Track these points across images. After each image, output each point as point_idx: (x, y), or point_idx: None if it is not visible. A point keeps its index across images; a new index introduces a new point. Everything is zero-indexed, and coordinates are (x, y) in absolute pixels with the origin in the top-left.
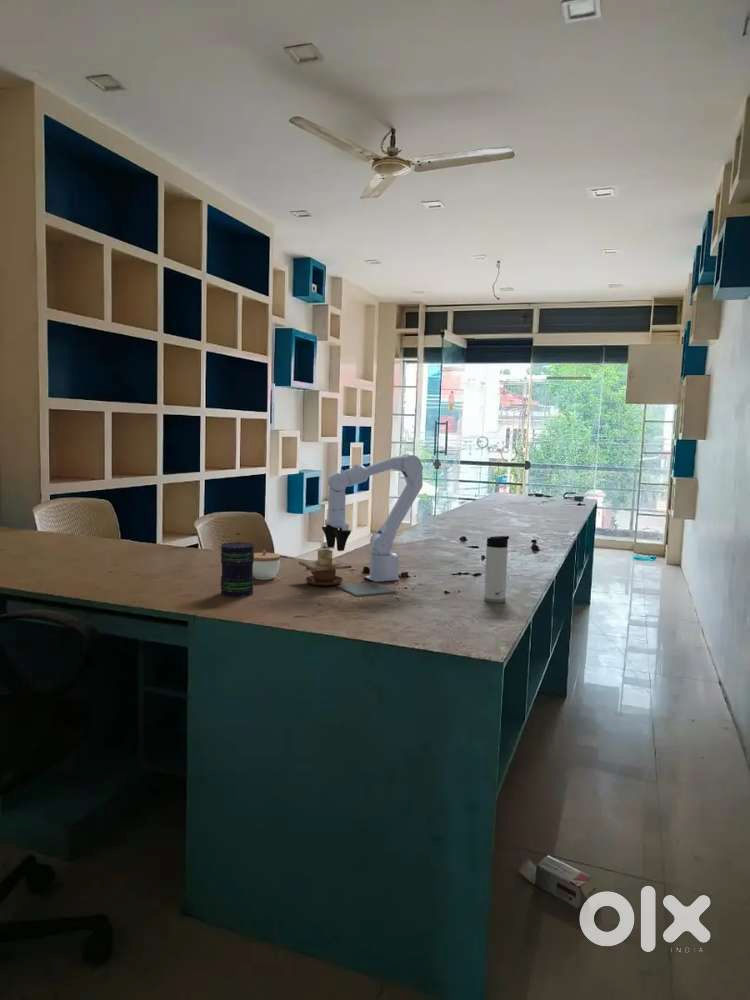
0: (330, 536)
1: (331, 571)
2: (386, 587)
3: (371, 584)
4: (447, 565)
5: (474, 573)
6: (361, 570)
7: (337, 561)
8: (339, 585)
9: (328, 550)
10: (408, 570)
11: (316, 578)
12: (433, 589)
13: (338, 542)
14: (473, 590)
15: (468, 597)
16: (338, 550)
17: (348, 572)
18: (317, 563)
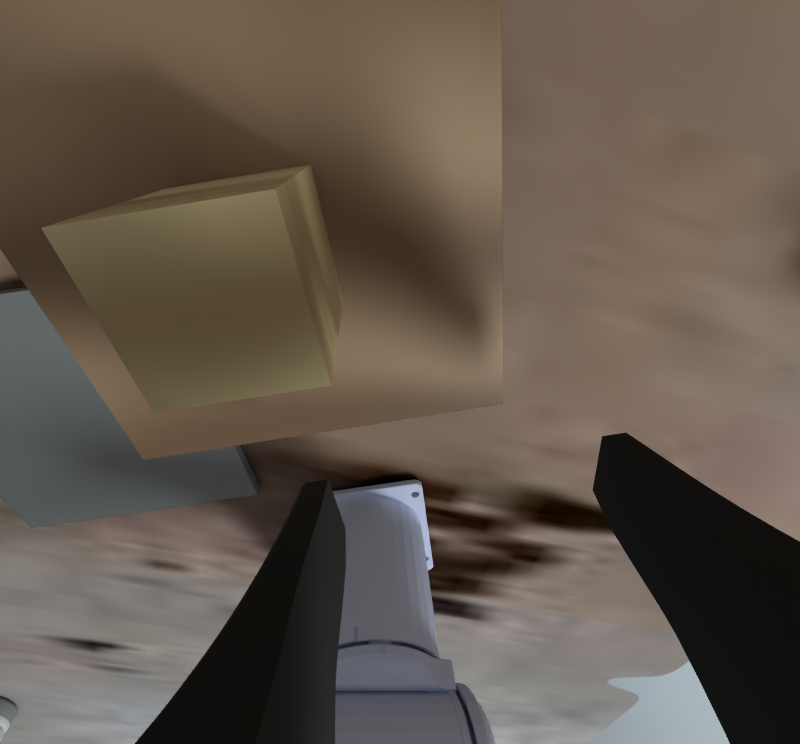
0: (710, 601)
1: None
2: (115, 508)
3: (193, 466)
4: (532, 703)
5: None
6: None
7: (365, 401)
8: None
9: (180, 364)
10: (508, 626)
11: None
12: (142, 626)
13: (247, 598)
14: (137, 693)
15: (13, 672)
16: (301, 489)
17: (585, 438)
18: (267, 150)
